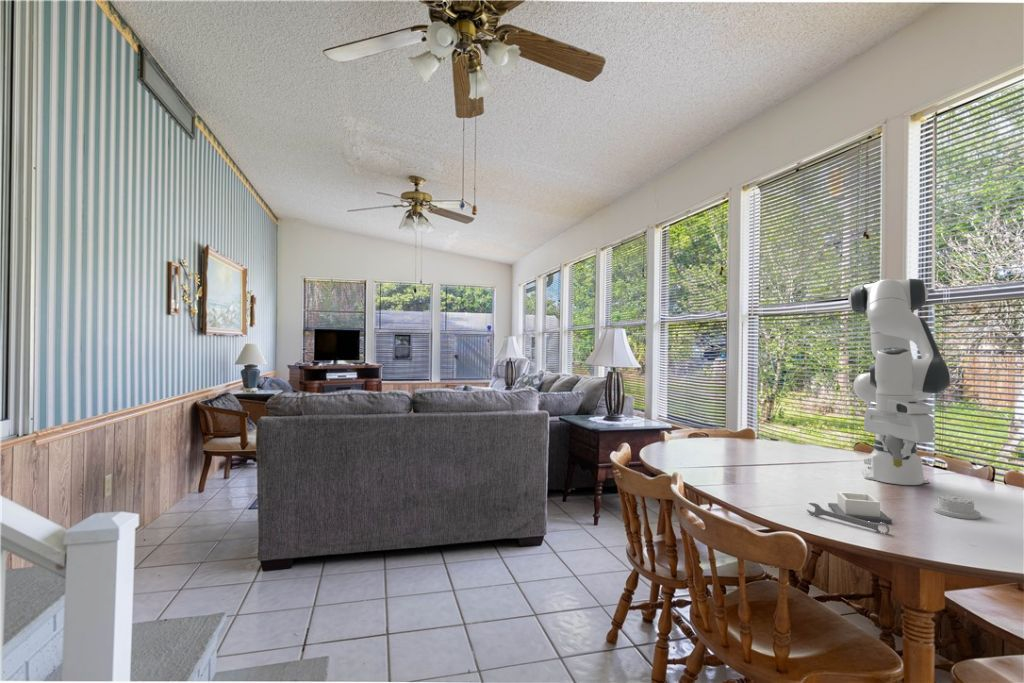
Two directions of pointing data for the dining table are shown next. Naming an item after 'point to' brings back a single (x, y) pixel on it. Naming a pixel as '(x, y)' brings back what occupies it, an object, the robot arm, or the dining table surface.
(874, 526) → the combination wrench
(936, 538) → the dining table surface
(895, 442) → the light bulb
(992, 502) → the dining table surface
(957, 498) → the mechanical component
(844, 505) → the lamp base
